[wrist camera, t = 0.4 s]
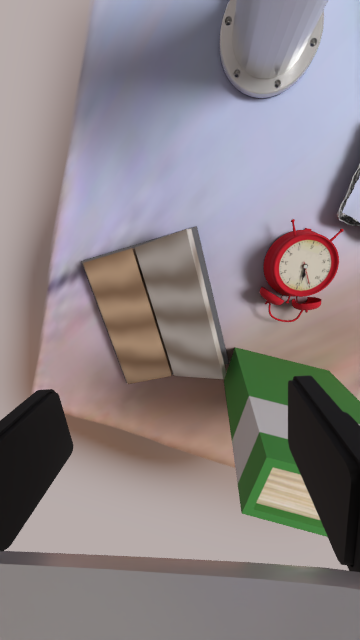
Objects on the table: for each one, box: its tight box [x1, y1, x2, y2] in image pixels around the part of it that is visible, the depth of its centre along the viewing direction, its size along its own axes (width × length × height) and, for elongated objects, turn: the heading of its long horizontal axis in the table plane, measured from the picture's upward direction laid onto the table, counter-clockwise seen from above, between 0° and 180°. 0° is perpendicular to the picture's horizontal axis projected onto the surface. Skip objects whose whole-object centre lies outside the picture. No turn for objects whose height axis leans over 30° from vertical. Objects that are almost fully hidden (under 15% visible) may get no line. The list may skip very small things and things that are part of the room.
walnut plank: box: [83, 248, 173, 384], centre depth 43 cm, size 24×9×2 cm, turn 15°
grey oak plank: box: [134, 229, 226, 379], centre depth 39 cm, size 24×10×2 cm, turn 15°
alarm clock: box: [260, 219, 343, 322], centre depth 37 cm, size 10×6×15 cm
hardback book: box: [224, 348, 360, 537], centre depth 33 cm, size 18×7×24 cm, turn 77°
